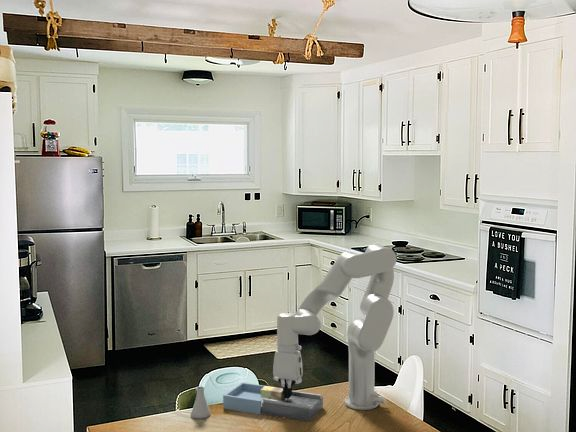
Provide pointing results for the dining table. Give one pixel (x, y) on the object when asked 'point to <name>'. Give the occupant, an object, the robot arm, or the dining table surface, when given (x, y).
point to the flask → (200, 405)
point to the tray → (244, 398)
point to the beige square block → (277, 393)
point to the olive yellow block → (266, 392)
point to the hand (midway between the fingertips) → (287, 397)
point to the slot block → (294, 406)
